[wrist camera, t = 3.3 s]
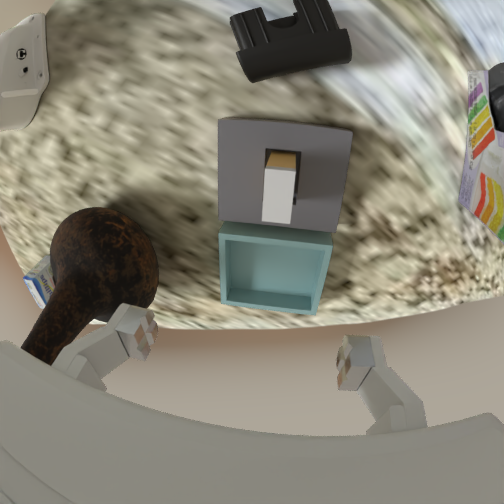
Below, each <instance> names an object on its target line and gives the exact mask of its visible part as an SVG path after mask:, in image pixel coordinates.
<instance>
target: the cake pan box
mask: <svg viewBox="0 0 504 504" xmlns="http://www.w3.org/2000/svg"><path fill="white" fill-rule="evenodd" d="M468 89H469V113H468V133H467V145H466V155H465V163H464V170H463V177H462V183H461V189H460V194H459V202H460V203H461V204H462V205H463V206H464V207H466V208H467V209H468V210H469V211H470V212H471V213H472V214H474V215H475V216H476V217H477V218H478V219H479V220H480V221H481V222H482V223H483V224H484V225H485V226H486V227H487V228H488V229H489V230H490V231H491V232H492V233H493V234H494V235H495V236H496V237H497V238H498V239H499V240H500V241H501V242H502V243H503V244H504V62H503V63H500V64H497V65H495V66H494V67H492V68H491V69H490V70H486V71H468Z"/></svg>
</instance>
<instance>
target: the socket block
mask: <svg viewBox="0 0 504 504" xmlns="http://www.w3.org/2000/svg"><path fill="white" fill-rule="evenodd" d="M352 136H353V132H352V131H350V130H349V129H344V128H338V127H332V126H325V125H318V124H310V123H302V122H293V121H282V120H269V119H253V118H221V119H218V213H219V220H221V221H232V222H242V223H252V224H262V225H271V226H280V227H289V228H298V229H306V230H315V231H323V232H331V233H336V229H337V225H338V220H339V215H340V210H341V204H342V199H343V194H344V188H345V182H346V176H347V170H348V164H349V157H350V150H351V143H352ZM272 150H275V151H286V152H295V153H296V174H295V184H294V193H293V202H292V211H291V220H290V224H284V223H275V222H266V221H262V209H263V193H264V176H265V167H266V165H267V162H268V160H269V157H270V155H271V152H272Z"/></svg>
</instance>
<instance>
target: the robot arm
mask: <svg viewBox="0 0 504 504" xmlns="http://www.w3.org/2000/svg"><path fill="white" fill-rule="evenodd" d="M48 82H49V71H48V62H47V51H46V34H45V14H44V13H35V14H32V15H30V16H28V17H26V18H25V19H23V20H22V21H20V22H19V23H18V24H17V25H16V26H15V27H13V28H10V29H8V30H6V31H4V32H3V33H2V34H0V132H1V131H6V130H21V129H23V128H25V127H26V126H27V125H28V124H29V123H30V121H31V120H32V118H33V116H34V114H35V112H36V109H37V106H38V103H39V99H40V97H41V94H42V93H43V91H44V90H45V88H46V87H47V85H48ZM153 318H154V313H153V311H152V310H149V309H145V308H141V307H137V306H133V305H129V304H124V303H122V304H121V305H120V306H119V307H118V308H117V310H116V311H115V313H114V314H113V316H112V317H111V319H110V320H109V321H108V323H107V324H106V326H105V327H101V328H99V329H97V330H95V331H93V332H91V333H90V334H88V335H86V336H84V337H82V338H80V339H78V340H76V341H74V342H72V343H71V344H69V345H67V346H65V347H64V348H63V349H62V351H61V352H60V354H59V355H58V357H57V358H56V360H55V361H54V363H53V364H52V366H50V365H48V364H46V363H44V362H43V361H41V360H39V359H37V358H36V357H34V356H32V355H31V354H29V353H27V352H26V351H24V350H23V349H21V348H19V347H18V346H16V345H15V344H13V343H12V342H10V341H8V340H4V341H1V342H0V504H504V424H503V423H502V422H501V421H500V420H499V419H498V418H497V417H496V416H494V415H493V414H492V413H483V414H480V415H477V416H473V417H470V418H466V419H463V420H459V421H455V422H451V423H446V424H442V425H437V426H432V427H427V421H426V416H425V411H424V406H423V402H422V400H421V399H420V398H419V397H418V396H417V395H416V394H415V393H414V392H413V391H412V390H411V388H410V387H409V386H408V385H407V384H406V383H405V382H404V381H403V380H402V379H401V378H400V377H399V376H398V375H397V373H396V372H394V370H393V369H392V368H391V367H387V363H386V358H385V354H384V349H383V345H382V341H381V338H380V336H363V335H362V336H361V335H345V337H344V338H343V346H341V347H340V348H339V351H338V354H337V369H338V370H339V374H338V377H337V382H338V390H348V391H351V390H352V391H357V393H358V395H359V396H360V398H361V399H362V401H363V402H364V404H365V405H366V407H367V408H368V410H369V411H370V413H371V414H372V416H373V417H374V419H375V420H376V422H375V424H373V425H372V426H371V427H370V428H369V429H368V430H367V431H366V432H367V433H366V435H356V436H303V435H287V434H275V433H266V432H257V431H250V430H242V429H236V428H229V427H224V426H219V425H214V424H209V423H204V422H200V421H195V420H191V419H187V418H183V417H179V416H175V415H172V414H168V413H164V412H161V411H158V410H155V409H151V408H148V407H145V406H142V405H139V404H136V403H133V402H130V401H128V400H125V399H122V398H119V397H117V396H114V395H112V394H109V393H107V392H106V390H107V388H106V386H105V384H104V383H103V382H102V380H101V379H102V378H103V377H105V376H106V375H107V374H109V373H110V372H111V371H113V370H114V369H115V368H117V367H118V366H119V365H121V364H122V363H123V362H125V361H126V360H127V359H129V357H131V358H134V359H138V360H142V361H146V358H147V356H148V355H149V353H150V350H151V349H150V345H151V344H153V343H154V342H155V340H156V338H157V334H158V326H157V323H156V322H155V321H154V320H153Z"/></svg>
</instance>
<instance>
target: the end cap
mask: <svg viewBox="0 0 504 504" xmlns="http://www.w3.org/2000/svg"><path fill="white" fill-rule="evenodd" d="M293 3H294V5H295V7H296V10H297V12H296V13H293V15H294V16H289V17H285V18H280V19H276V20H272V21H268V22H267V20H266V17H265V15H264V13H263V10H262V8H261V7H259V8H255V9H252V10H248V11H245V12H242V13H238V14H235V15H233V16H231V17H230V20H231V21H230V25H231V28H232V30H233V33H234V35H235V38H236V40H237V43H238V46H239V48H240V51H238V52H236V55H237V57H238V60H239V62H240V65H241V67H242V69H243V71H244V73H245V75H246V77H247V78H248V80H249V81H250V82H252V83H255V82H259V81H262V80H266V79H270V78H273V77H277V76H281V75H286V74H290V73H294V72H299V71H304V70H309V69H314V68H319V67H325V66H331V65H338V64H345V63H349V62H350V61H351V58H352V49H351V43H350V38H349V35H348V32H347V29H339V27H338V24H337V21H336V19H335V16H334V14H333V12H332V9H331V7H330V5H329V2H328V0H293Z"/></svg>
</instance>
